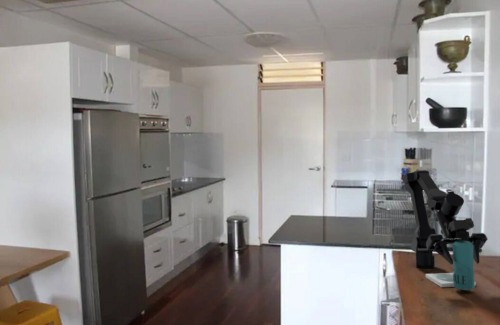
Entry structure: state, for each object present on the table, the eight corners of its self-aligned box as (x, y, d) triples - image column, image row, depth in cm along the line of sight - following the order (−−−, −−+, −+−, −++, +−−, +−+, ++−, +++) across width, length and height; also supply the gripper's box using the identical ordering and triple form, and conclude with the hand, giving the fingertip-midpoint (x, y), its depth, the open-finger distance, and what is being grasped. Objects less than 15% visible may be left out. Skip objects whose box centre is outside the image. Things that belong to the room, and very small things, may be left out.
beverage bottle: (474, 289, 142) (473, 229, 141) (475, 295, 136) (474, 233, 135) (452, 287, 144) (451, 228, 144) (453, 293, 138) (451, 232, 138)
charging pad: (425, 277, 157) (425, 273, 157) (457, 275, 158) (457, 272, 158) (441, 287, 145) (441, 283, 145) (475, 285, 146) (475, 281, 146)
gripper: (428, 210, 144) (444, 250, 133) (483, 209, 144) (504, 248, 133) (419, 230, 152) (433, 269, 141) (472, 228, 152) (490, 267, 141)
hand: (465, 263), depth 138 cm, fingers open, 8 cm apart
